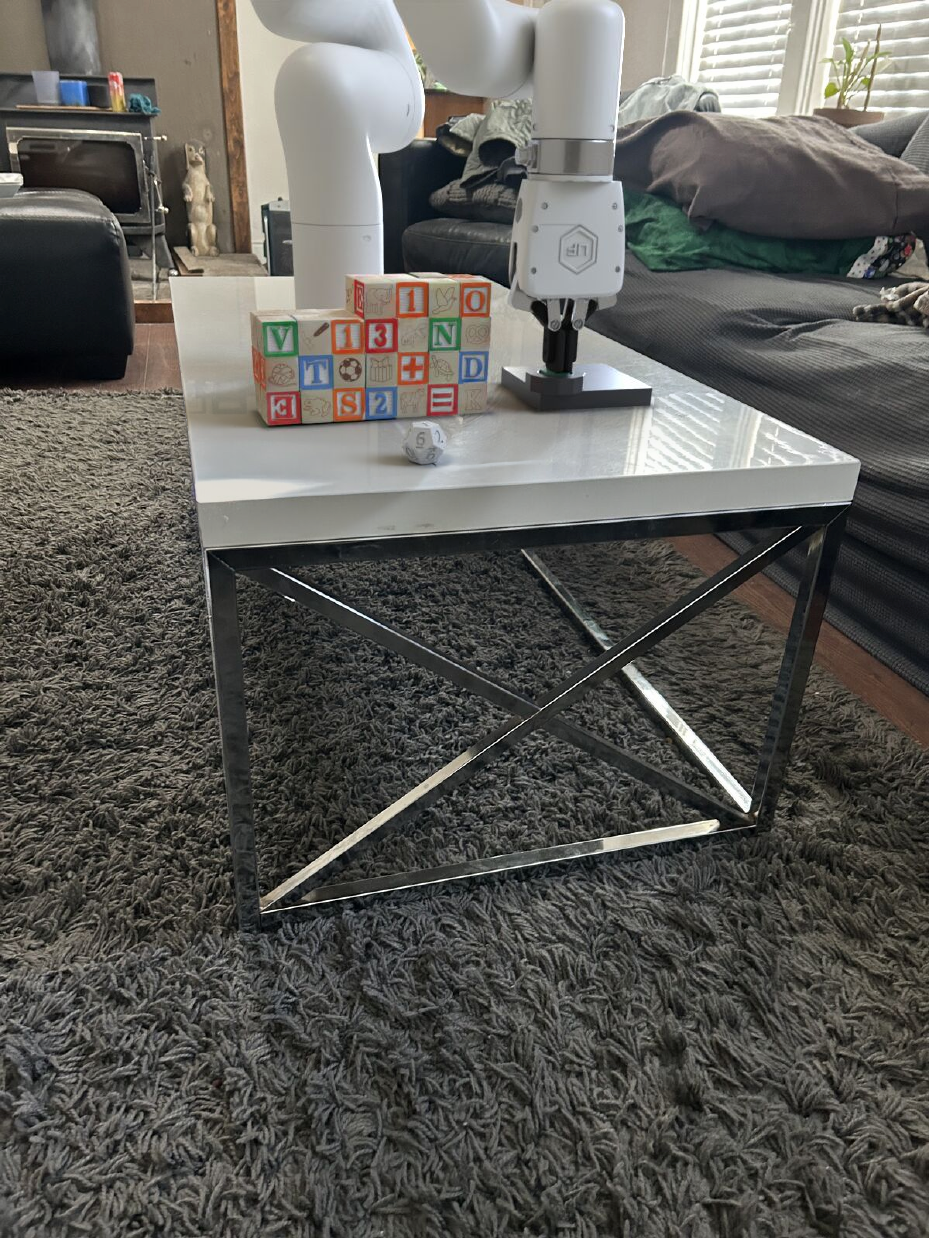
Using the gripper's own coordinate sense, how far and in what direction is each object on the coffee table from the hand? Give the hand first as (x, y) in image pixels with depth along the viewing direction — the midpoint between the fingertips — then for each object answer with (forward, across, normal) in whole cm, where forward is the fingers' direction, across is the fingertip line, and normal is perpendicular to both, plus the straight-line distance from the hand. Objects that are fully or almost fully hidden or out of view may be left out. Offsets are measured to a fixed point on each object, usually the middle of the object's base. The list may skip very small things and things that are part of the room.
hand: (558, 370), depth 93 cm
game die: (+4, -17, -14) cm, 23 cm away
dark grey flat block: (+4, +4, +5) cm, 7 cm away
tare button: (+2, 0, 0) cm, 2 cm away
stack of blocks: (+4, -18, +2) cm, 19 cm away
